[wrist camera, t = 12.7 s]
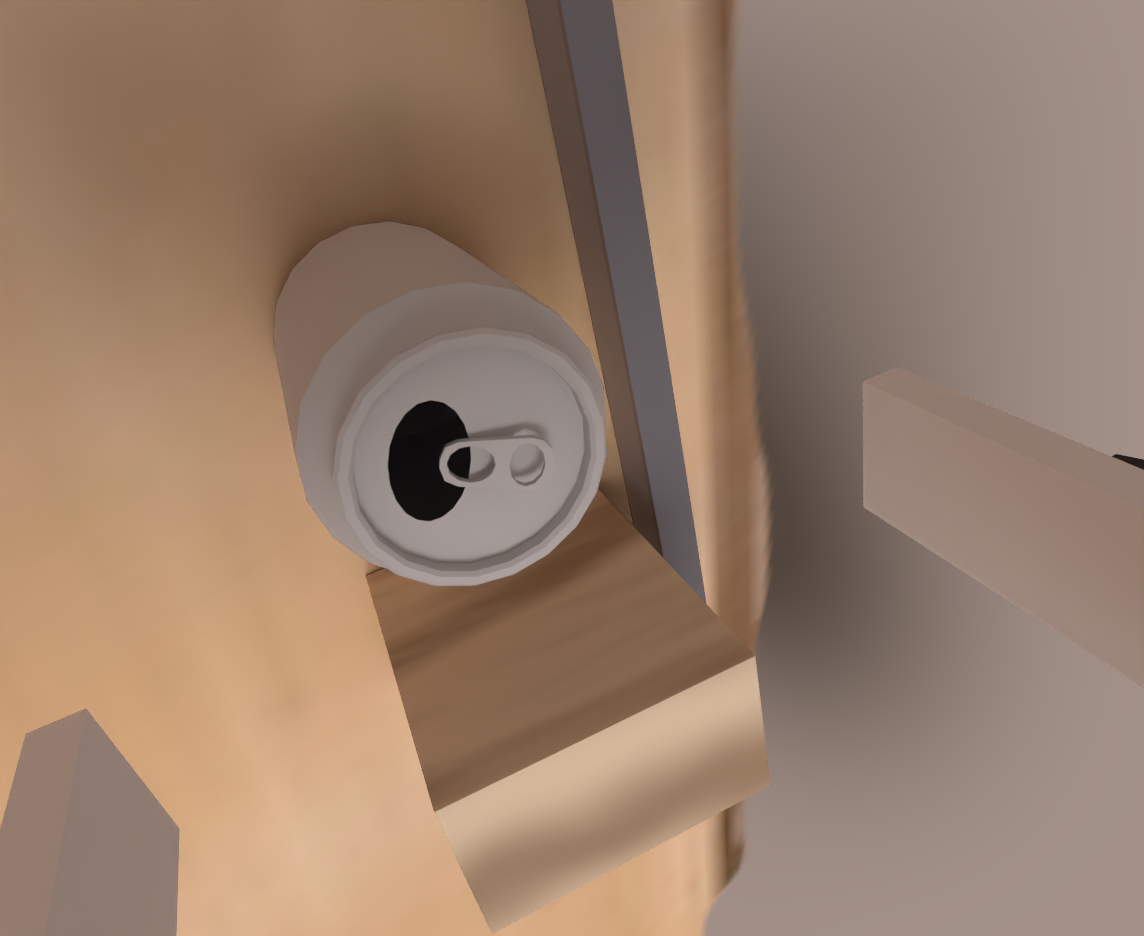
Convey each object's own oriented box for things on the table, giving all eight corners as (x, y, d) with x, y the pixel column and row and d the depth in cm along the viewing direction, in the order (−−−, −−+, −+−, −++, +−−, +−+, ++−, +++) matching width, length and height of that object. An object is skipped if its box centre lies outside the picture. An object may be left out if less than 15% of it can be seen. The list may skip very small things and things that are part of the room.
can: (262, 213, 24) (288, 300, 14) (494, 221, 27) (655, 299, 17) (279, 437, 27) (311, 640, 17) (486, 423, 30) (619, 591, 20)
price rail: (503, -110, 23) (535, -133, 20) (553, -120, 23) (589, -144, 21) (646, 587, 36) (675, 621, 34) (676, 574, 37) (706, 607, 34)
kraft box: (365, 575, 30) (434, 812, 20) (596, 482, 33) (759, 653, 23) (412, 682, 34) (492, 934, 24) (621, 590, 36) (774, 783, 26)
